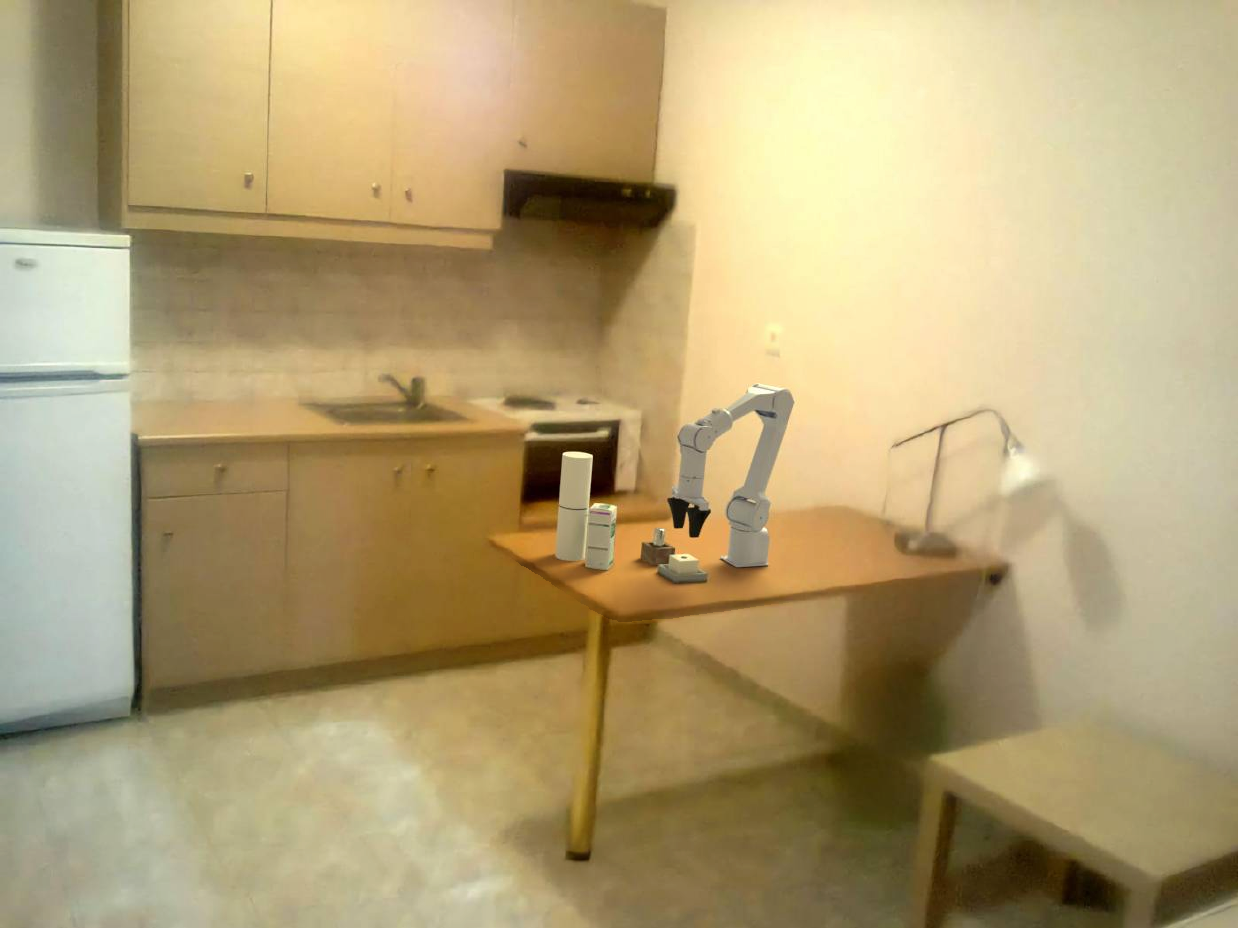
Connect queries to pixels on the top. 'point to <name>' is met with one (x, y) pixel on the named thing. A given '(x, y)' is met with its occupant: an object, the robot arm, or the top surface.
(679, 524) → the robot arm
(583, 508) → the cylindrical container
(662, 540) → the cylinder
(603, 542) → the syrup box
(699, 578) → the tray
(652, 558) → the hollow square frame
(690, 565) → the small block
